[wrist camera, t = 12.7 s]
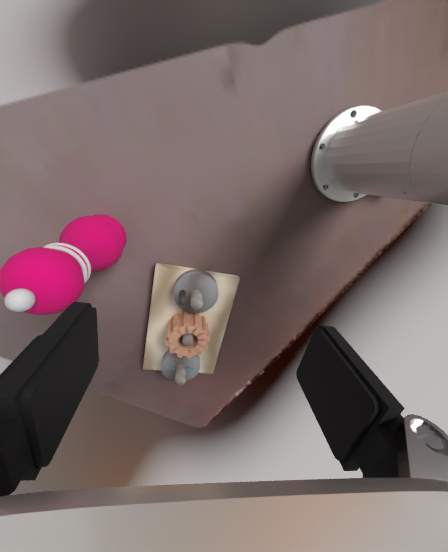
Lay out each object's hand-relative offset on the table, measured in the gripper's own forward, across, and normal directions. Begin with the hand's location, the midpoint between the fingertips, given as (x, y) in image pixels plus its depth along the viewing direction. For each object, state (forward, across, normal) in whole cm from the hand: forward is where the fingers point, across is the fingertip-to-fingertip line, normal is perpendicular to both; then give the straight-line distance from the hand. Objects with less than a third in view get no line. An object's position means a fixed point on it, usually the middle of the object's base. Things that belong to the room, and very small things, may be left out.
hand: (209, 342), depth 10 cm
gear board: (+28, -1, +20) cm, 34 cm away
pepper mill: (+28, +14, +5) cm, 32 cm away
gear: (+27, -1, +20) cm, 33 cm away
